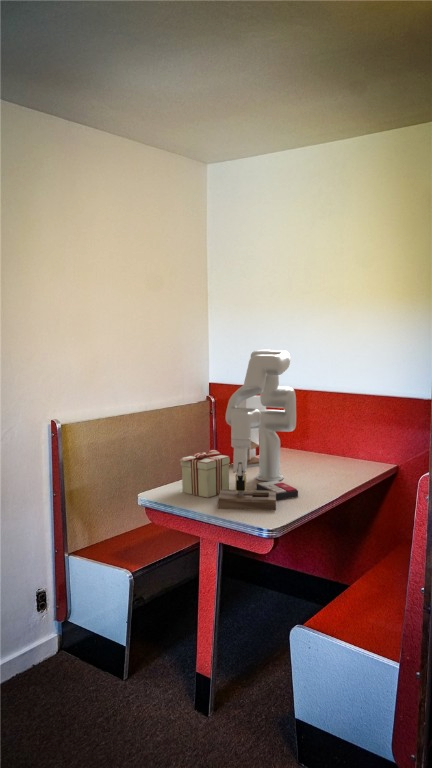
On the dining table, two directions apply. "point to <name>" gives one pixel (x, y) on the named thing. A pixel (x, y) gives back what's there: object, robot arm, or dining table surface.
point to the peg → (245, 485)
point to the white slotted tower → (253, 430)
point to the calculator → (278, 489)
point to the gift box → (205, 473)
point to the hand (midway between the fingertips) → (240, 488)
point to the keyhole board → (247, 500)
